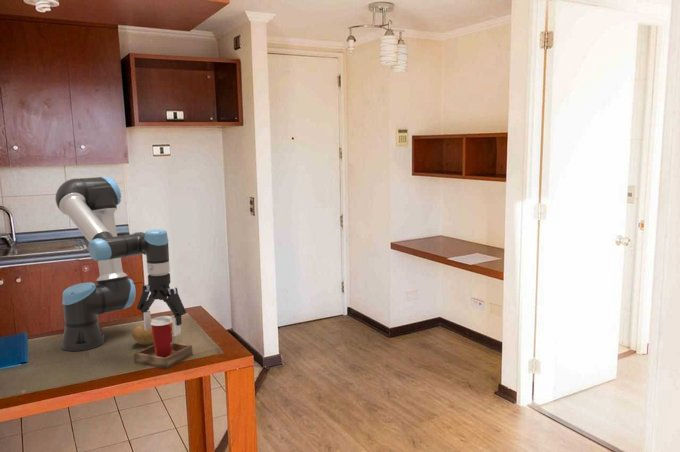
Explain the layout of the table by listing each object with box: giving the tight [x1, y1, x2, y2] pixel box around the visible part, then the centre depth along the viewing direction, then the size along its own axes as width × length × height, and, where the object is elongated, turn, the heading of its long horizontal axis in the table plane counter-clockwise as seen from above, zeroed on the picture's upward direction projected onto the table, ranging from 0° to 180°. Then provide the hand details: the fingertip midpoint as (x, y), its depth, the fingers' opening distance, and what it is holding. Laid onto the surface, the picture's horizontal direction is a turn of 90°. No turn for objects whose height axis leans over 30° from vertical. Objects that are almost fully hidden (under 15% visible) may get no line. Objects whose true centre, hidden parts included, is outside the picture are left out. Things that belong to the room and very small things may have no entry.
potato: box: [131, 324, 154, 346], centre depth 212 cm, size 10×14×8 cm
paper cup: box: [150, 315, 173, 358], centre depth 195 cm, size 8×8×14 cm
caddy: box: [134, 341, 193, 370], centre depth 196 cm, size 14×14×4 cm
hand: (162, 331), depth 195 cm, fingers open, 13 cm apart
